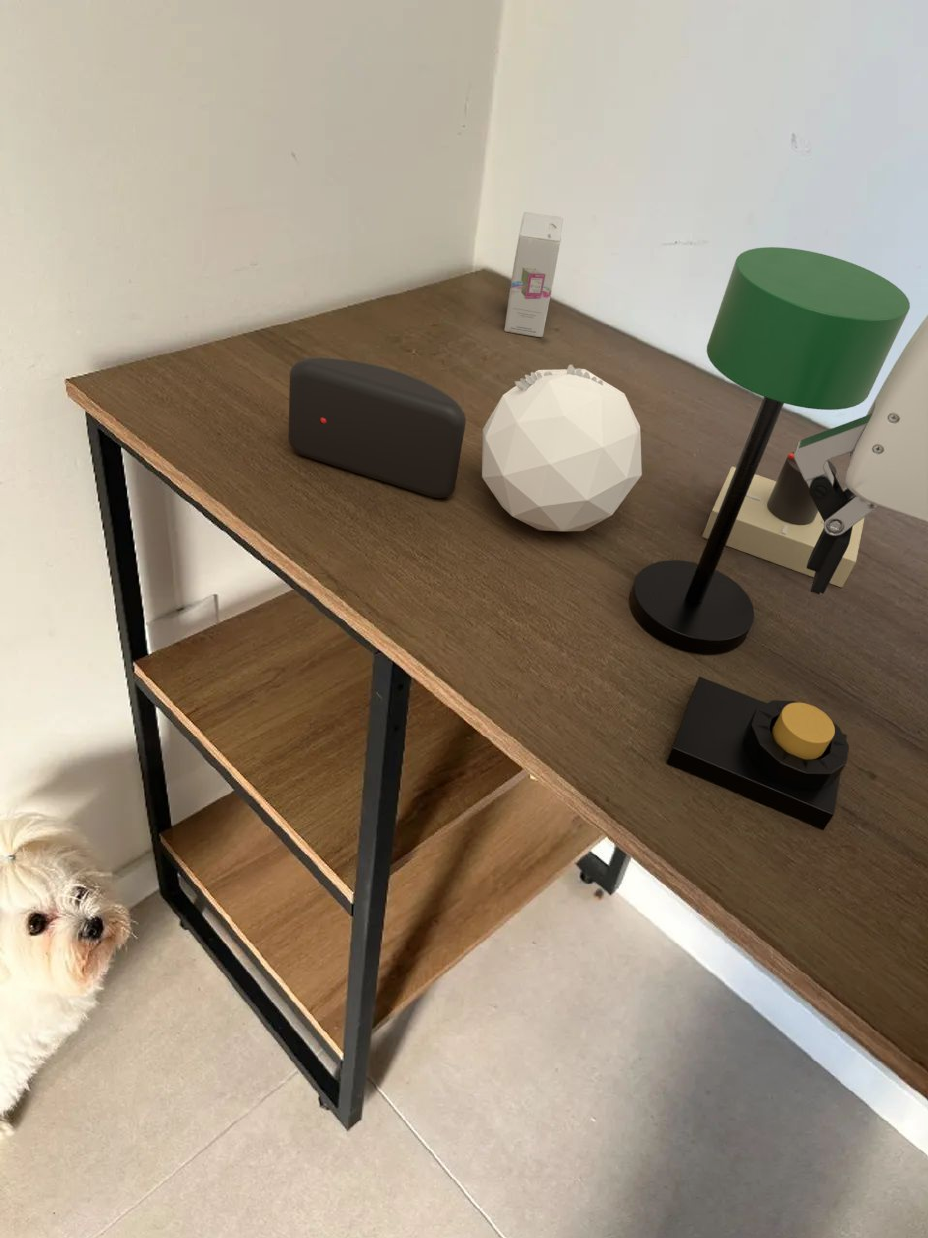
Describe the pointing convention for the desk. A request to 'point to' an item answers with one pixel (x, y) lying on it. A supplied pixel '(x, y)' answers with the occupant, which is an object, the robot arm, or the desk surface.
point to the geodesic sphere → (561, 450)
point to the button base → (755, 754)
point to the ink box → (533, 274)
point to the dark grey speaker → (376, 424)
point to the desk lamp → (771, 410)
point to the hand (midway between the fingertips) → (878, 600)
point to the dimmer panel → (779, 532)
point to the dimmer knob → (793, 495)
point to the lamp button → (803, 730)
